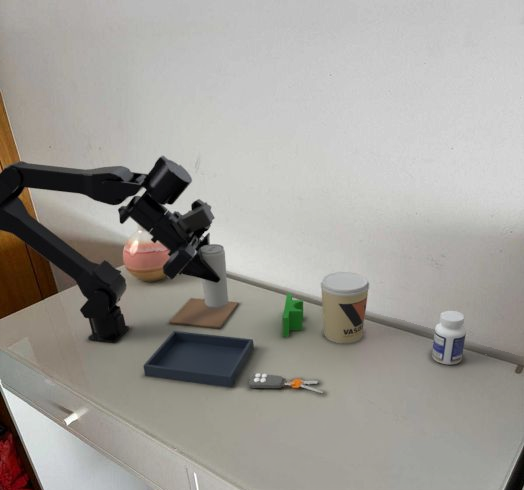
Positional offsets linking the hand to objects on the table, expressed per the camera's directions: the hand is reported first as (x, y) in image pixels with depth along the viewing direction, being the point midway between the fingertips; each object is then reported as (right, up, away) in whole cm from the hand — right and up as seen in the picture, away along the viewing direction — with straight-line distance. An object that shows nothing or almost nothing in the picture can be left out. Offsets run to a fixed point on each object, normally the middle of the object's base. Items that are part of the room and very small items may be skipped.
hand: (221, 275), depth 98 cm
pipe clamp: (+15, -10, +9) cm, 20 cm away
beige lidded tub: (+25, -12, +5) cm, 28 cm away
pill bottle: (+43, -16, -5) cm, 46 cm away
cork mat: (-5, -7, +16) cm, 18 cm away
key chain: (+12, -21, -10) cm, 26 cm away
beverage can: (-1, -6, +3) cm, 7 cm away
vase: (-21, +4, +36) cm, 42 cm away
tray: (-4, -17, -2) cm, 17 cm away
